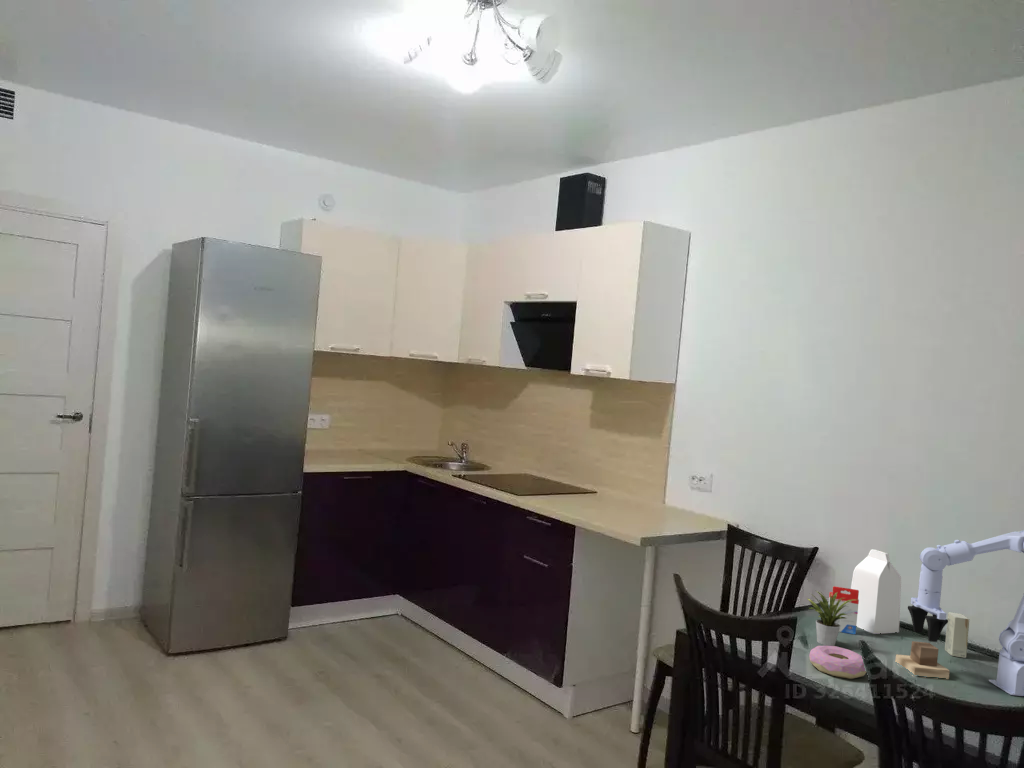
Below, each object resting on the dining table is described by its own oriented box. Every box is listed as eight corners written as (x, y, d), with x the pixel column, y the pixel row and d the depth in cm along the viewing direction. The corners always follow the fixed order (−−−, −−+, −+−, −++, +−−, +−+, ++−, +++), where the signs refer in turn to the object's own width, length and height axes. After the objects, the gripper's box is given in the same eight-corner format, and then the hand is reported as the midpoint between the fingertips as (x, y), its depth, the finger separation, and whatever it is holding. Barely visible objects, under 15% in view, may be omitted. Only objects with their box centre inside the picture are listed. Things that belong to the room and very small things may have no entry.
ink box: (853, 630, 252) (857, 586, 252) (855, 635, 247) (860, 590, 247) (825, 625, 254) (830, 582, 254) (827, 630, 250) (832, 586, 249)
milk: (845, 621, 261) (852, 546, 261) (869, 620, 266) (877, 546, 266) (873, 633, 250) (881, 556, 250) (898, 632, 255) (906, 555, 254)
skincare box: (966, 658, 234) (970, 619, 234) (951, 656, 235) (955, 617, 235) (958, 651, 240) (962, 613, 240) (943, 649, 241) (947, 611, 241)
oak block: (948, 681, 214) (949, 670, 214) (913, 678, 214) (914, 667, 214) (928, 667, 224) (929, 657, 224) (895, 664, 224) (896, 654, 224)
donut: (877, 675, 212) (879, 657, 212) (850, 685, 203) (851, 667, 203) (825, 656, 224) (827, 639, 224) (797, 665, 215) (798, 647, 215)
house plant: (843, 637, 243) (849, 587, 243) (861, 653, 229) (867, 599, 229) (798, 632, 244) (803, 582, 244) (813, 648, 230) (819, 594, 230)
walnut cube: (936, 666, 217) (938, 649, 217) (919, 664, 217) (921, 647, 217) (927, 659, 222) (928, 642, 222) (910, 658, 222) (911, 641, 222)
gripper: (902, 581, 226) (898, 626, 226) (930, 596, 211) (925, 644, 212) (925, 583, 226) (921, 628, 226) (955, 598, 212) (950, 646, 212)
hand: (925, 636), depth 219 cm, fingers open, 7 cm apart
